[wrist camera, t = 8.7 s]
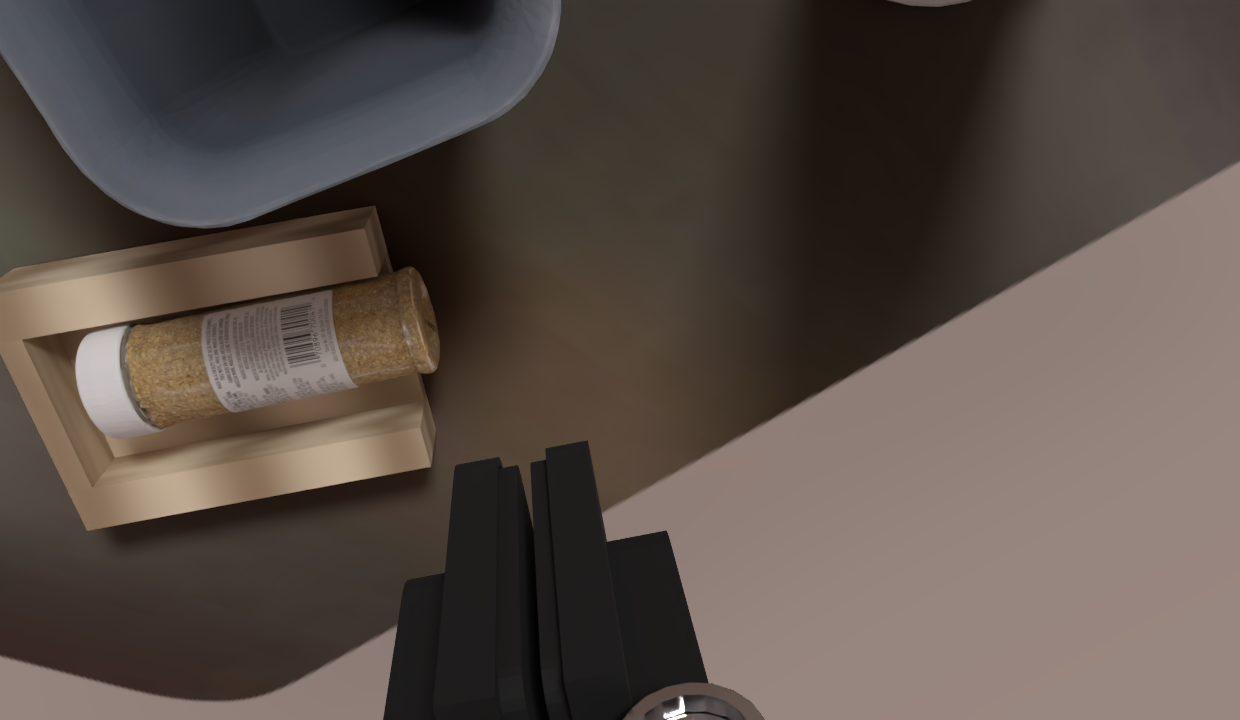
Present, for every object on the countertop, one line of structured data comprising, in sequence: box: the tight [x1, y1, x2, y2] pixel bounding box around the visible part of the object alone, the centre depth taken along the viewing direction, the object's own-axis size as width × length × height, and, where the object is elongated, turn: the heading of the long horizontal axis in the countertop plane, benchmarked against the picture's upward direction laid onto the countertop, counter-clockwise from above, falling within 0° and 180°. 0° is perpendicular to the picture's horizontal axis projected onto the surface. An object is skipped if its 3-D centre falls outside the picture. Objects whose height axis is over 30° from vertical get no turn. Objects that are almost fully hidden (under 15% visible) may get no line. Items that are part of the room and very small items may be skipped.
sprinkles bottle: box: [75, 267, 440, 439], centre depth 38 cm, size 5×5×14 cm
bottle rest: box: [0, 205, 436, 531], centre depth 39 cm, size 15×11×3 cm
